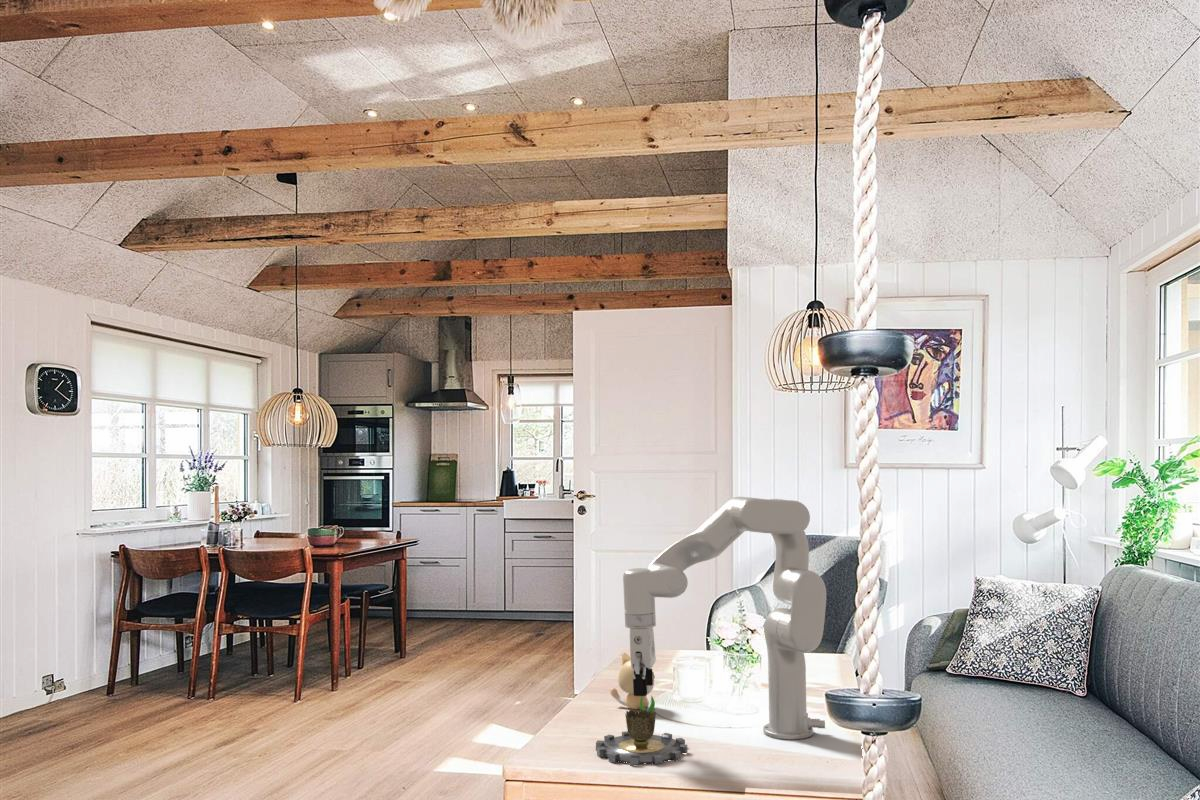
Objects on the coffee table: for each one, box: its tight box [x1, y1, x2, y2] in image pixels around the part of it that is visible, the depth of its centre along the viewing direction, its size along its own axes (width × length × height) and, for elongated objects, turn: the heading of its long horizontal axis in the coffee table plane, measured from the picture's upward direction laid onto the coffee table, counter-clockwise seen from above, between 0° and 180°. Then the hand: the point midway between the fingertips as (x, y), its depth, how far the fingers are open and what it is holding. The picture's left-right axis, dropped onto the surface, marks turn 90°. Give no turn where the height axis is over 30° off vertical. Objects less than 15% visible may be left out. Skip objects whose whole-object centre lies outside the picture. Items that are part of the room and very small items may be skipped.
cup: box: [624, 708, 657, 747], centre depth 238 cm, size 8×7×8 cm
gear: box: [595, 730, 688, 766], centre depth 238 cm, size 22×22×2 cm
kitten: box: [609, 652, 656, 713], centre depth 278 cm, size 15×10×15 cm, turn 32°
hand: (643, 690), depth 239 cm, fingers open, 9 cm apart
